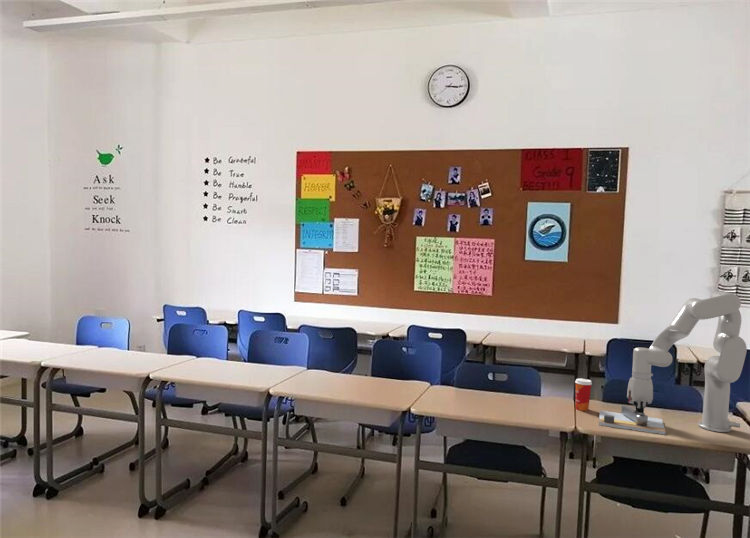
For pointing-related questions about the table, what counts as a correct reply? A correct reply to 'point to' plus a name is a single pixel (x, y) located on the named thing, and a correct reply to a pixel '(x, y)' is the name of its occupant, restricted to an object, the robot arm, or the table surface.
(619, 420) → the door board
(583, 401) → the paper cup
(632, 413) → the latch bar
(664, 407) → the table surface
